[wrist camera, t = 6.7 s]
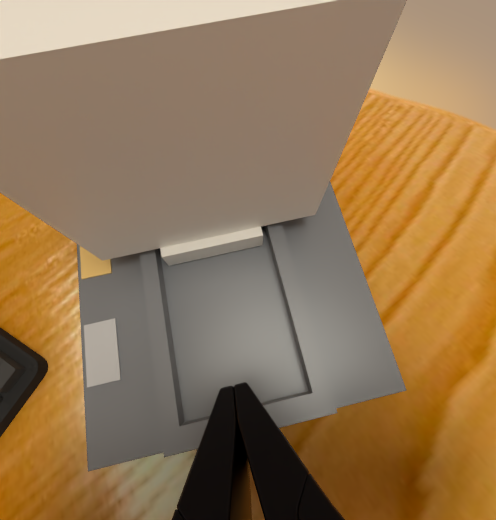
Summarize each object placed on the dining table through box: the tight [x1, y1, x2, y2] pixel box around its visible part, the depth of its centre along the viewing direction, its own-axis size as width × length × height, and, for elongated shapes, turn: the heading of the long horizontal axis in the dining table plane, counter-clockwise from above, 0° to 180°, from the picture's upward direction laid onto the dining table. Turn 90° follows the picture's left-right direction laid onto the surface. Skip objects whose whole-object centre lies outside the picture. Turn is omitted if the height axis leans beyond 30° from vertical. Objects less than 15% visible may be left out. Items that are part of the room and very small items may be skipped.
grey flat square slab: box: [77, 182, 406, 471], centre depth 16 cm, size 15×15×2 cm
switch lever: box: [0, 0, 407, 266], centre depth 12 cm, size 4×11×11 cm, turn 103°
